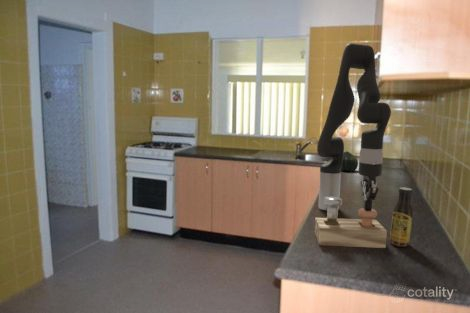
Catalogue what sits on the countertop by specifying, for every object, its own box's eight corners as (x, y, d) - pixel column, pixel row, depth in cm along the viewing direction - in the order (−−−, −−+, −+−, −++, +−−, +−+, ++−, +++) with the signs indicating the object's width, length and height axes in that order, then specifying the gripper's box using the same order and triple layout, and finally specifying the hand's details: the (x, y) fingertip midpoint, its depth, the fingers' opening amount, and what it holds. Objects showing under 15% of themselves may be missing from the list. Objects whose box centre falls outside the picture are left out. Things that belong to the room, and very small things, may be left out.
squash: (350, 166, 261) (356, 149, 267) (331, 164, 271) (337, 148, 277) (356, 177, 270) (362, 160, 276) (337, 175, 280) (344, 159, 286)
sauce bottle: (386, 244, 128) (390, 187, 126) (393, 239, 133) (398, 185, 130) (405, 249, 124) (410, 191, 121) (412, 244, 128) (417, 188, 125)
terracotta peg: (355, 229, 134) (356, 207, 133) (372, 229, 133) (373, 208, 132) (359, 234, 128) (361, 212, 127) (377, 235, 127) (379, 213, 126)
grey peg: (322, 217, 134) (323, 196, 133) (339, 218, 134) (340, 196, 133) (324, 222, 128) (325, 200, 127) (342, 223, 128) (343, 201, 127)
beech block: (314, 233, 138) (315, 217, 137) (375, 235, 137) (376, 219, 136) (319, 245, 126) (320, 228, 126) (385, 247, 125) (386, 230, 124)
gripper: (354, 158, 134) (352, 205, 136) (364, 164, 121) (361, 215, 123) (376, 158, 133) (373, 205, 136) (388, 164, 120) (384, 216, 123)
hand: (367, 210), depth 129 cm, fingers closed
